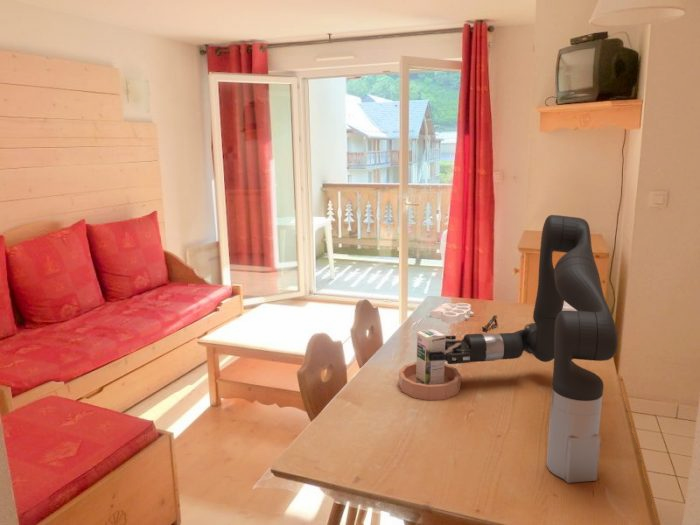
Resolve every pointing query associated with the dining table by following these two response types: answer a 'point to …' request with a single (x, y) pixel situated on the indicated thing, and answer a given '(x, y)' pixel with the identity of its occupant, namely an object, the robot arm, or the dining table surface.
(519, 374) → the dining table surface
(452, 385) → the bowl
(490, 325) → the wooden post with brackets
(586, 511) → the dining table surface
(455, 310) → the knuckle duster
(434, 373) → the syrup box
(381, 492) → the dining table surface
